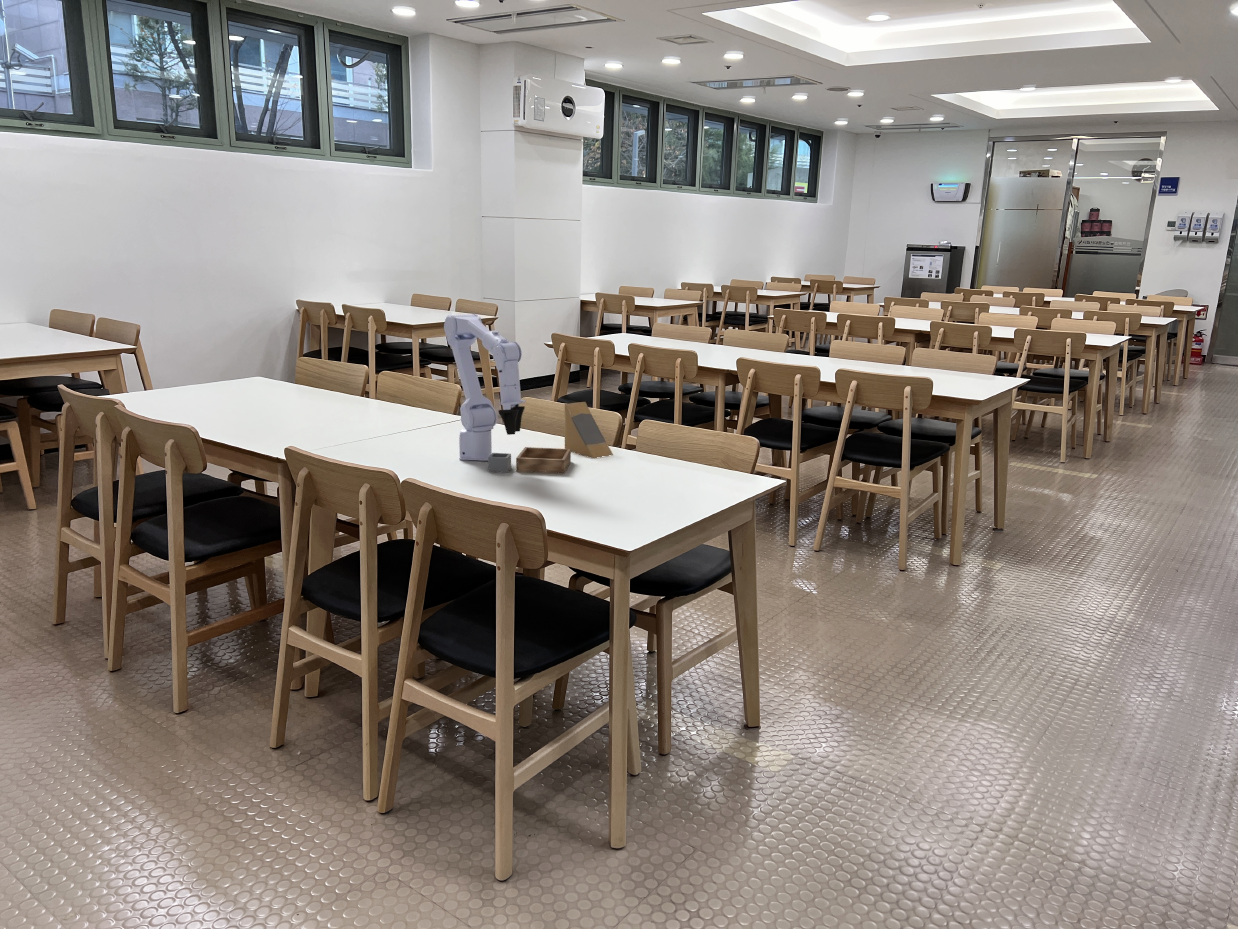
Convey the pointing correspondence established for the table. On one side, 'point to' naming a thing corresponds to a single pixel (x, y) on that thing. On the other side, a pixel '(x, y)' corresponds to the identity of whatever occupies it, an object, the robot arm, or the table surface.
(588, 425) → the sandwich container
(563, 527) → the table surface
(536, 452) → the large crate
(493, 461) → the small crate
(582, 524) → the table surface
